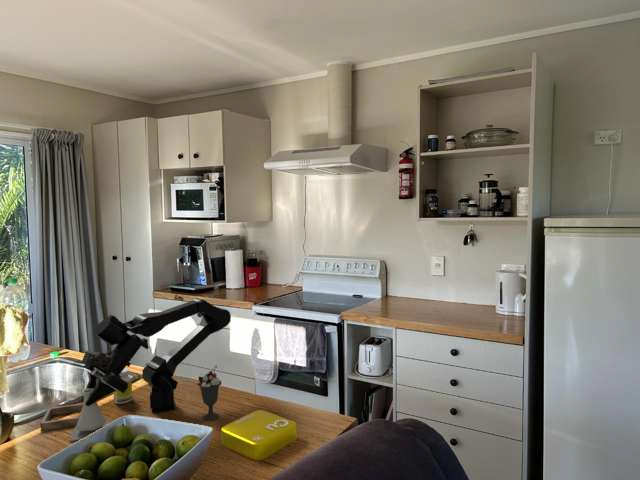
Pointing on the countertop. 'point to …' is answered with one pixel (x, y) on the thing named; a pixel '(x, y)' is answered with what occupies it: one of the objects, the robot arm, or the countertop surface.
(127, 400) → the supplement bottle
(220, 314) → the robot arm
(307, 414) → the countertop surface
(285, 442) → the element tile
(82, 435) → the rubber mat
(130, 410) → the countertop surface
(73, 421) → the walnut well
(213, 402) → the sundae
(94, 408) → the flask
